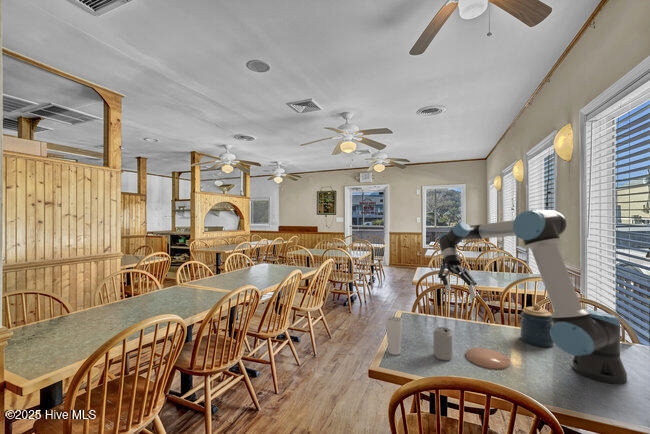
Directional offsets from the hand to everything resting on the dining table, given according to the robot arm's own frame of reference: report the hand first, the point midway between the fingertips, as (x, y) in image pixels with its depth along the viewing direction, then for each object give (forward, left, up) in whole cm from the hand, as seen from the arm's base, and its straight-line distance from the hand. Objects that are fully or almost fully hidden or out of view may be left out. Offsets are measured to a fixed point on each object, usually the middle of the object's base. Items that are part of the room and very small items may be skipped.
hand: (461, 294), depth 139 cm
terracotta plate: (-17, +3, -23) cm, 28 cm away
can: (-9, +19, -23) cm, 31 cm away
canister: (-13, -33, -23) cm, 42 cm away
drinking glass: (+2, +36, -23) cm, 43 cm away
